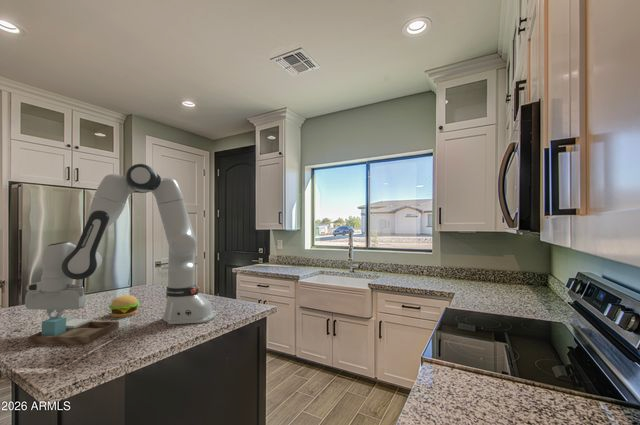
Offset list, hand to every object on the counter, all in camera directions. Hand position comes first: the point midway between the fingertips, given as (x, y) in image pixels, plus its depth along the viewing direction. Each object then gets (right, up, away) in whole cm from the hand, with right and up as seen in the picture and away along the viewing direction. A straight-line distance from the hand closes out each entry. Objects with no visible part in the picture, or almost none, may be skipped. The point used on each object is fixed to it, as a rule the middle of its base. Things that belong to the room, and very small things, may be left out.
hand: (55, 320), depth 110 cm
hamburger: (+10, -6, +24) cm, 27 cm away
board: (+11, -5, -4) cm, 13 cm away
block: (+7, -4, -8) cm, 11 cm away
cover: (+6, -1, 0) cm, 7 cm away
